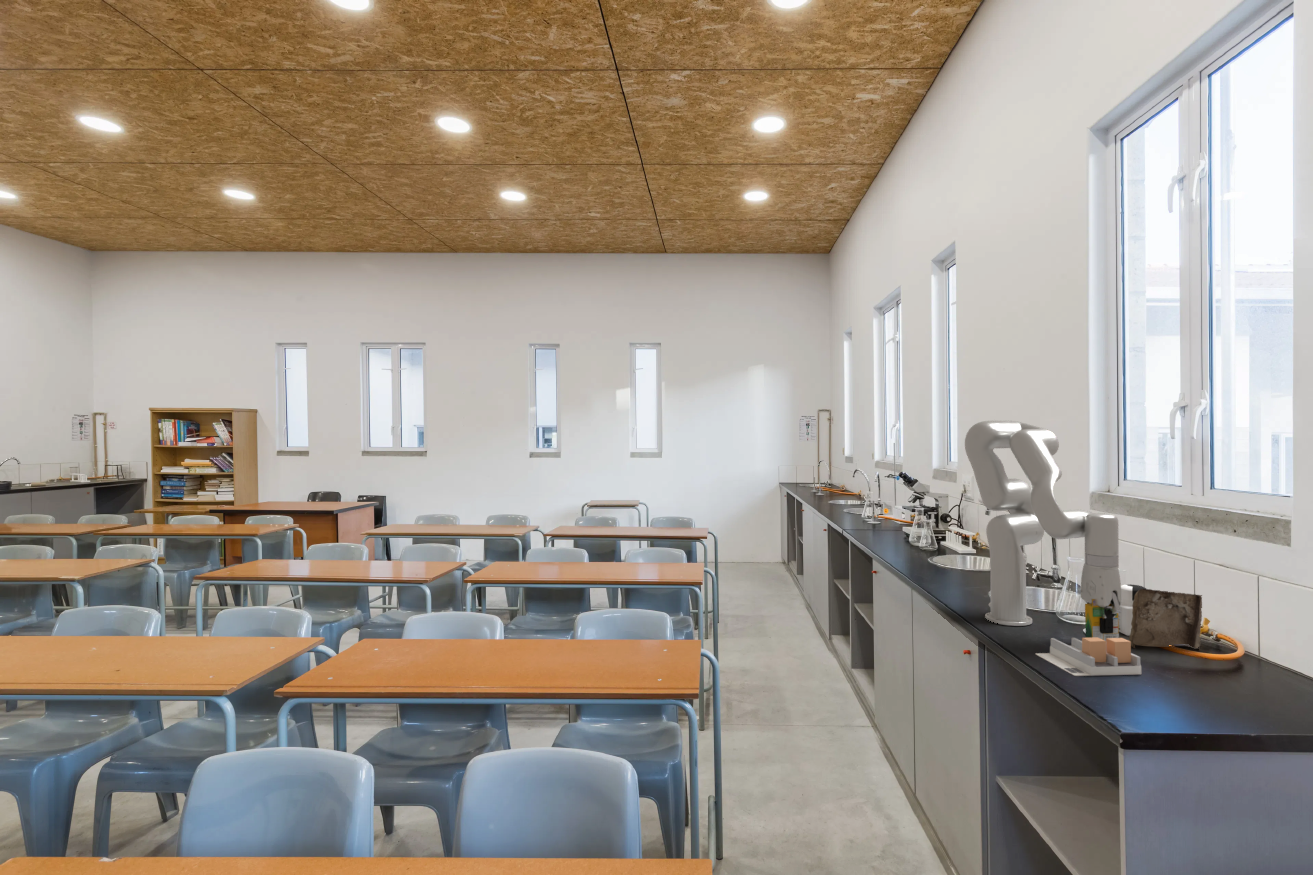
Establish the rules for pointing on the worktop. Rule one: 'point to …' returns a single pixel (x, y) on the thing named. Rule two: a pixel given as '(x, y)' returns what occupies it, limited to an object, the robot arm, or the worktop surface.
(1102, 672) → the white divided tray
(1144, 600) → the mineral sample
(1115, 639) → the light orange block
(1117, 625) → the crayon box
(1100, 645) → the tan rectangular block
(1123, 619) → the container
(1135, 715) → the worktop surface
